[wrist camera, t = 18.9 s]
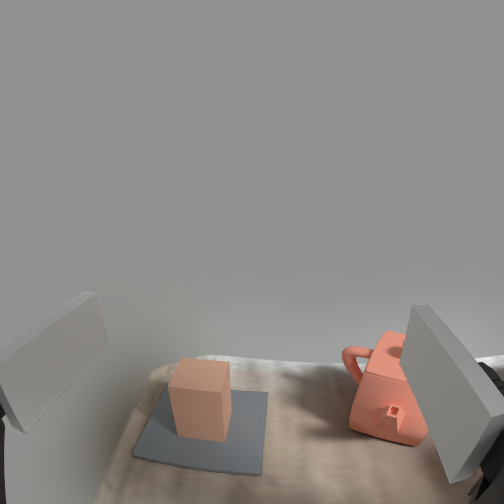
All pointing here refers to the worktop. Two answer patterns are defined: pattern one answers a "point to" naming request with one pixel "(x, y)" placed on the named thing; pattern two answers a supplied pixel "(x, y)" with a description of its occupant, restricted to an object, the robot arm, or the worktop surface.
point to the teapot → (384, 393)
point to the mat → (205, 451)
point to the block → (201, 399)
